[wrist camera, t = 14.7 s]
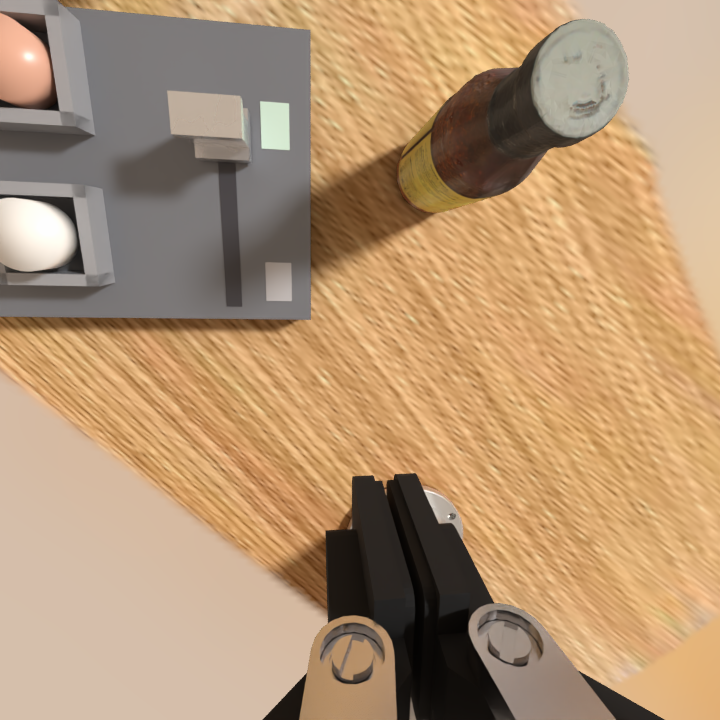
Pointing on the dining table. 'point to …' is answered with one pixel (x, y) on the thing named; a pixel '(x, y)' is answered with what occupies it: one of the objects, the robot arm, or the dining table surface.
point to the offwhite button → (35, 235)
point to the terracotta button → (25, 67)
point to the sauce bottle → (515, 118)
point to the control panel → (162, 169)
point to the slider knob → (212, 125)
